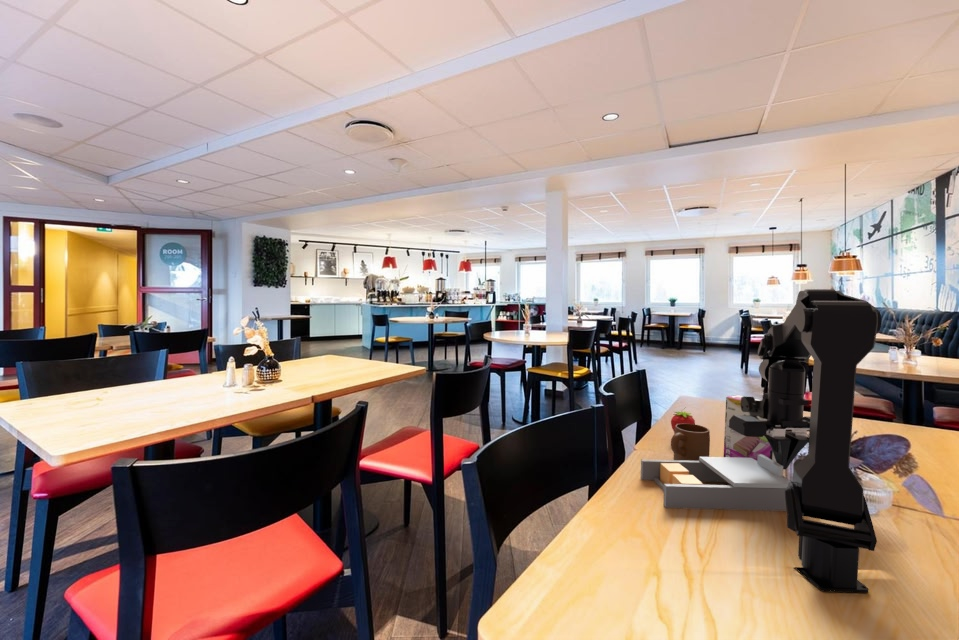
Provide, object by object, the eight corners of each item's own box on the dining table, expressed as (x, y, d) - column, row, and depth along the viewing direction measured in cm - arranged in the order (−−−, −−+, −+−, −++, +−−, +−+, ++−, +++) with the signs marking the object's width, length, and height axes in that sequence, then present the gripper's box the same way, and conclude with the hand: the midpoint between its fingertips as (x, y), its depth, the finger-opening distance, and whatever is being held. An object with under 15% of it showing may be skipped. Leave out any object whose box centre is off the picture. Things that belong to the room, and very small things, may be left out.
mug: (688, 480, 90) (689, 438, 90) (656, 468, 96) (657, 429, 96) (714, 468, 97) (716, 429, 96) (683, 457, 103) (685, 421, 103)
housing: (794, 515, 75) (795, 489, 75) (665, 512, 76) (666, 486, 76) (750, 484, 88) (751, 461, 88) (640, 481, 89) (641, 459, 89)
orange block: (702, 504, 77) (703, 483, 77) (681, 503, 78) (681, 483, 77) (692, 494, 81) (692, 474, 81) (671, 493, 82) (672, 474, 81)
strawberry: (698, 441, 115) (700, 406, 115) (687, 447, 111) (688, 410, 110) (677, 435, 120) (678, 402, 119) (665, 441, 115) (666, 406, 115)
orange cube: (688, 490, 83) (689, 471, 83) (668, 490, 83) (669, 471, 83) (678, 481, 87) (679, 463, 87) (659, 481, 87) (660, 463, 87)
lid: (795, 488, 75) (796, 473, 75) (734, 487, 75) (734, 472, 75) (751, 461, 88) (752, 448, 88) (699, 460, 88) (699, 447, 88)
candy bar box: (722, 461, 101) (724, 396, 100) (734, 458, 103) (736, 394, 102) (771, 479, 91) (774, 407, 90) (783, 475, 93) (786, 404, 92)
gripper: (802, 384, 88) (799, 454, 89) (715, 382, 89) (713, 452, 90) (847, 396, 77) (843, 476, 78) (747, 394, 78) (744, 474, 79)
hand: (782, 468), depth 81 cm, fingers closed
